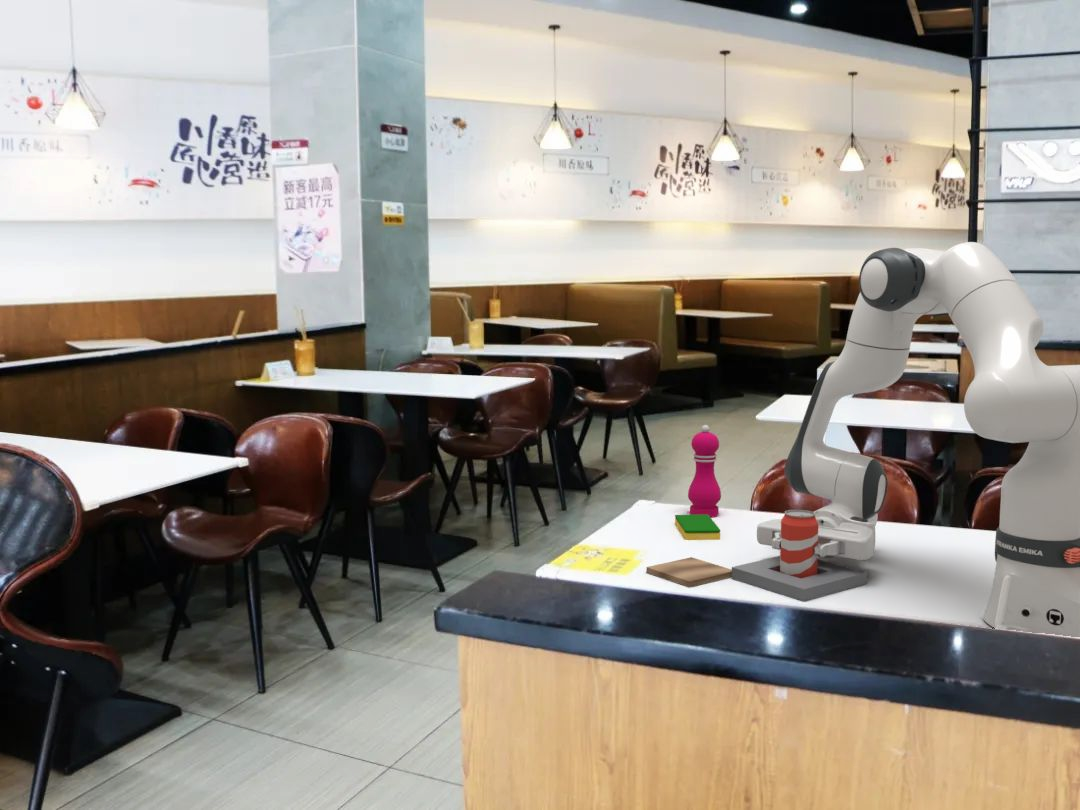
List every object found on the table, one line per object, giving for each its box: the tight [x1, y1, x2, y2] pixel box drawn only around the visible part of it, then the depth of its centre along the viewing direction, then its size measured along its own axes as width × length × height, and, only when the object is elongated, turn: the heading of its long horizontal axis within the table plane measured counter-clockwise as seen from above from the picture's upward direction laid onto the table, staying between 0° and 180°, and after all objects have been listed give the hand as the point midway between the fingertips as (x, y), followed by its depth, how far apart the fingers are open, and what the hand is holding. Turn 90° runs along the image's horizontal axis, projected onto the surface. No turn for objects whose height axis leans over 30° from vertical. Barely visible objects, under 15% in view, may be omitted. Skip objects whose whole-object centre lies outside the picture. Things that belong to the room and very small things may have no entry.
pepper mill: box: [687, 424, 722, 518], centre depth 227 cm, size 7×7×20 cm
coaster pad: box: [645, 556, 732, 588], centre depth 182 cm, size 11×11×1 cm
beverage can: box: [779, 509, 819, 578], centre depth 177 cm, size 6×6×12 cm
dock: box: [730, 555, 867, 602], centre depth 178 cm, size 16×16×2 cm
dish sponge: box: [674, 514, 721, 541], centre depth 213 cm, size 7×14×2 cm, turn 1°
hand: (796, 548), depth 177 cm, fingers closed on beverage can, 6 cm apart
